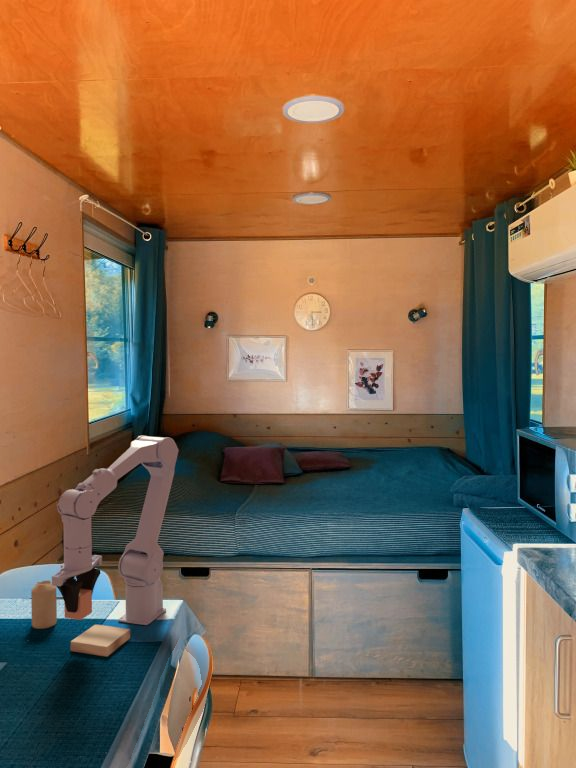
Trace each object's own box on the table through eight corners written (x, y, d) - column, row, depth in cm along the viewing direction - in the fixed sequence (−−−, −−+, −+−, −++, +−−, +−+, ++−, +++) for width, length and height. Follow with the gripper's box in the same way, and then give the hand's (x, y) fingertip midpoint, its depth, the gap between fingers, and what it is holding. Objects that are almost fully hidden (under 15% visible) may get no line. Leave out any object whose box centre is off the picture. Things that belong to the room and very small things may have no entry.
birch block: (95, 635, 138) (95, 624, 138) (130, 640, 135) (130, 629, 135) (70, 652, 129) (70, 641, 129) (107, 658, 127) (106, 646, 127)
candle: (47, 630, 140) (47, 587, 139) (26, 628, 141) (26, 585, 140) (61, 620, 145) (61, 579, 145) (40, 618, 146) (40, 577, 146)
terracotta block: (76, 610, 133) (76, 588, 133) (92, 612, 132) (91, 590, 132) (64, 617, 129) (64, 594, 129) (80, 620, 128) (80, 596, 128)
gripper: (83, 534, 138) (84, 593, 139) (39, 553, 124) (40, 618, 125) (109, 537, 136) (110, 596, 137) (67, 557, 122) (69, 622, 123)
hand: (78, 607), depth 131 cm, fingers closed on terracotta block, 4 cm apart
